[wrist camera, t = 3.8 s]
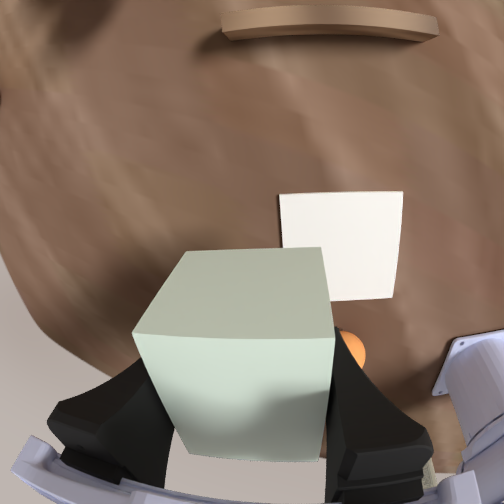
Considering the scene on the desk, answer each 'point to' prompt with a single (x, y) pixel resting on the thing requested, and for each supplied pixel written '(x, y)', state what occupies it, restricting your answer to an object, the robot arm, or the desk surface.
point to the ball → (354, 347)
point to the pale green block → (243, 352)
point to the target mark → (348, 238)
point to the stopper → (328, 22)
